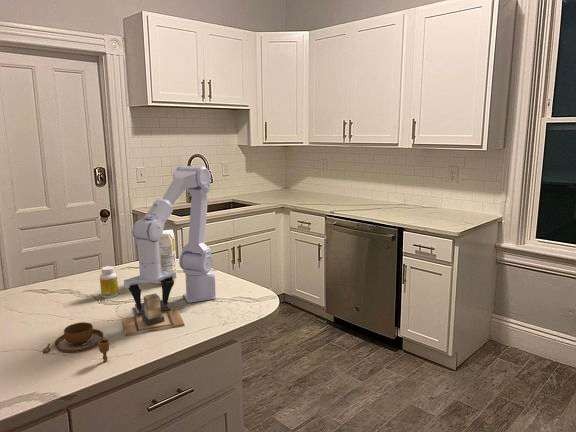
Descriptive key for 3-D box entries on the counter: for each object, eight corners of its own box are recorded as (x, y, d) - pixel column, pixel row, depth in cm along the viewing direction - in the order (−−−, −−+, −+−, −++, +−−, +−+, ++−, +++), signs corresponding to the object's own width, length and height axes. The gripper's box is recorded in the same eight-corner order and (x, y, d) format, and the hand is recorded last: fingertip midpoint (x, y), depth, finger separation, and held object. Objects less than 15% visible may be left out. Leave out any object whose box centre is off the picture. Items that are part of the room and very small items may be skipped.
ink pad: (167, 302, 146) (166, 298, 146) (170, 310, 139) (170, 307, 139) (135, 307, 142) (134, 303, 142) (137, 316, 135) (136, 312, 135)
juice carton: (172, 284, 162) (170, 233, 158) (149, 284, 162) (146, 233, 158) (178, 277, 169) (175, 229, 166) (155, 277, 169) (152, 228, 166)
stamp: (158, 315, 134) (157, 292, 133) (164, 321, 130) (163, 297, 129) (141, 319, 131) (140, 295, 130) (147, 325, 127) (145, 301, 126)
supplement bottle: (112, 298, 149) (110, 270, 147) (98, 297, 150) (95, 269, 148) (121, 292, 154) (119, 265, 152) (107, 291, 155) (105, 264, 153)
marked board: (177, 311, 139) (177, 308, 139) (184, 325, 129) (184, 323, 129) (123, 320, 133) (123, 317, 132) (125, 335, 123) (125, 333, 122)
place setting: (116, 330, 127) (115, 310, 126) (113, 365, 109) (112, 342, 108) (48, 339, 122) (45, 319, 121) (33, 377, 103) (30, 354, 102)
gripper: (168, 253, 134) (171, 296, 137) (119, 262, 126) (122, 307, 129) (177, 259, 129) (180, 303, 131) (126, 268, 120) (130, 315, 123)
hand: (152, 306), depth 130 cm, fingers open, 7 cm apart
